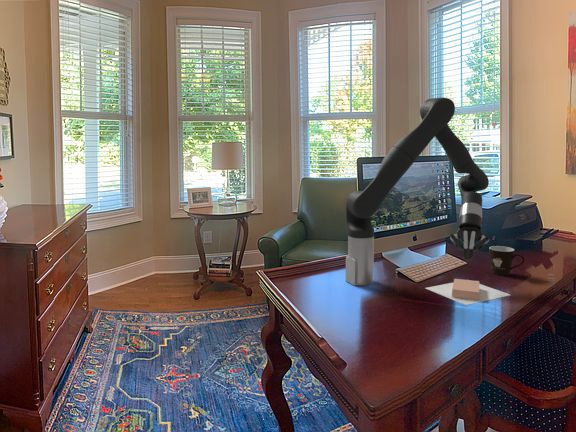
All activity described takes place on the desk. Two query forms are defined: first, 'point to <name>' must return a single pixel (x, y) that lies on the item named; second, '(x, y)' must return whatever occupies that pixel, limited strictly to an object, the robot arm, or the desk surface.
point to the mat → (484, 295)
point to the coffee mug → (502, 260)
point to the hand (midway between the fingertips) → (467, 260)
